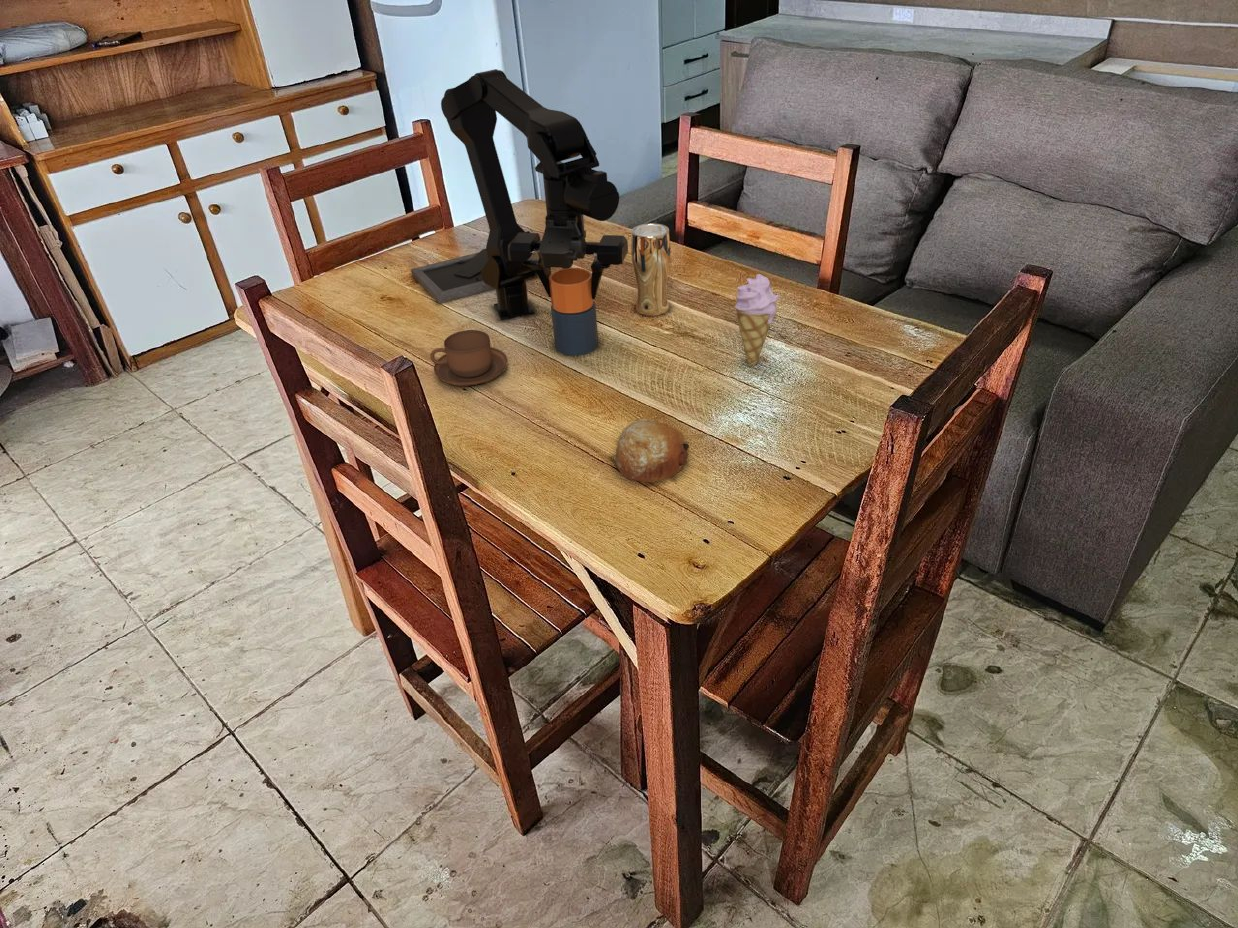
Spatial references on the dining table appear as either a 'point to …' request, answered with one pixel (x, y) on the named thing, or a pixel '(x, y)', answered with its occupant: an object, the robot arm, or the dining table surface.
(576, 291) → the cup
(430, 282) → the picture frame
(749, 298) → the ice cream cone
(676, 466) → the bread roll
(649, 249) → the beer glass
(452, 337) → the cup and saucer
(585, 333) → the jar
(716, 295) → the dining table surface
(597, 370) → the dining table surface
